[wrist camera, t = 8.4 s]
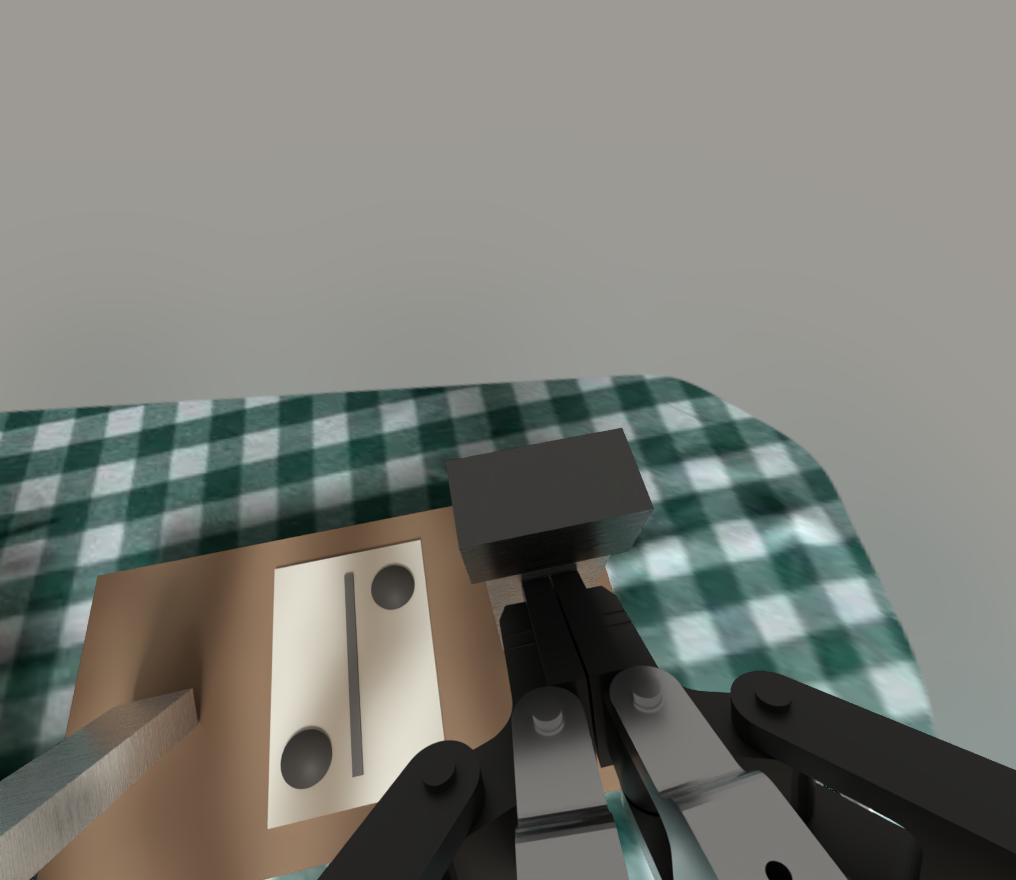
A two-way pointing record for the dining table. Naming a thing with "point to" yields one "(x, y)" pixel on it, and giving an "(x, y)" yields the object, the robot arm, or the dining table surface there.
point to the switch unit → (286, 694)
